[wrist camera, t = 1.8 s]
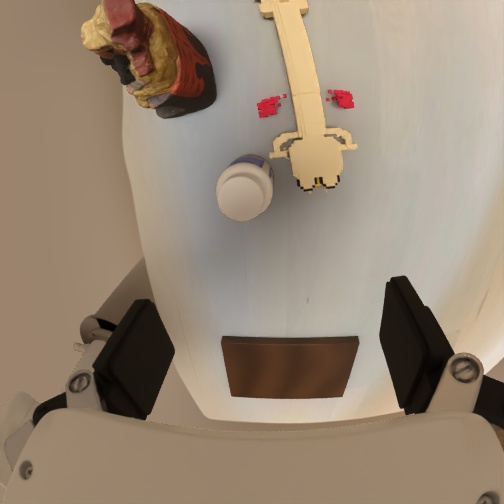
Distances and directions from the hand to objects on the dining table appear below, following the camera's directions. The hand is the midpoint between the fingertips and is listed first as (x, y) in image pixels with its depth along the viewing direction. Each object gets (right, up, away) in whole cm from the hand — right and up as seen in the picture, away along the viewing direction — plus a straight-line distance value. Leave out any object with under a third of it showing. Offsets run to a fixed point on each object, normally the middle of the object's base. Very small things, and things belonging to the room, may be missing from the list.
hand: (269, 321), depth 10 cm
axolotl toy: (+5, +21, +16) cm, 27 cm away
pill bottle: (-1, +11, +21) cm, 24 cm away
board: (+6, -18, +35) cm, 40 cm away
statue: (-8, +22, +17) cm, 29 cm away
